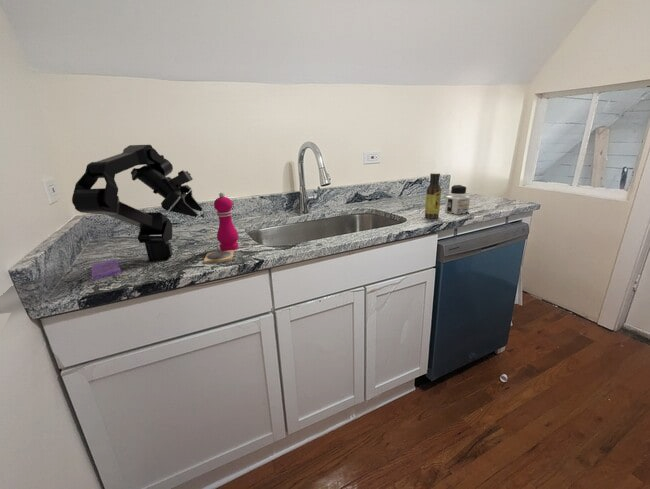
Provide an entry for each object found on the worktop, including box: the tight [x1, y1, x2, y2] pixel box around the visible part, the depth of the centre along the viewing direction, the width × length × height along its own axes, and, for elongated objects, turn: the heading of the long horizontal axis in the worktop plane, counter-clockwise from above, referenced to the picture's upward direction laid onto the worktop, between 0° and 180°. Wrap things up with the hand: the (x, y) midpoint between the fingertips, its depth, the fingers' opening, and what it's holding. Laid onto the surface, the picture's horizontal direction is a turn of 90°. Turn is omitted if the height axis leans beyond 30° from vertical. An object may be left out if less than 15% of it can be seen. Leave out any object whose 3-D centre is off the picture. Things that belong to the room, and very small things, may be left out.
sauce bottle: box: [424, 172, 442, 219], centre depth 139 cm, size 6×6×20 cm
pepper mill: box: [213, 192, 239, 251], centre depth 107 cm, size 7×7×20 cm
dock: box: [203, 250, 235, 264], centre depth 101 cm, size 8×8×1 cm
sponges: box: [90, 258, 122, 280], centre depth 95 cm, size 7×13×2 cm, turn 37°
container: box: [444, 184, 471, 215], centre depth 148 cm, size 8×8×13 cm
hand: (199, 213), depth 104 cm, fingers open, 9 cm apart
